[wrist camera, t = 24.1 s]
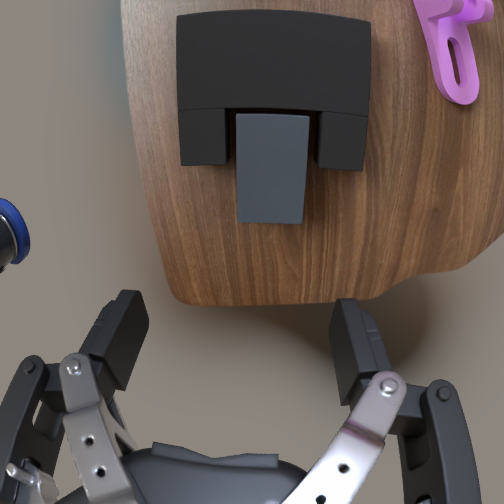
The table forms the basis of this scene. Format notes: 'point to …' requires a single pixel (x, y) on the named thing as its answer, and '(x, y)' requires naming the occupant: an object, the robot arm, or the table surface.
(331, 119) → the base pad
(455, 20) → the bracket
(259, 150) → the pad
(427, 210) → the table surface
